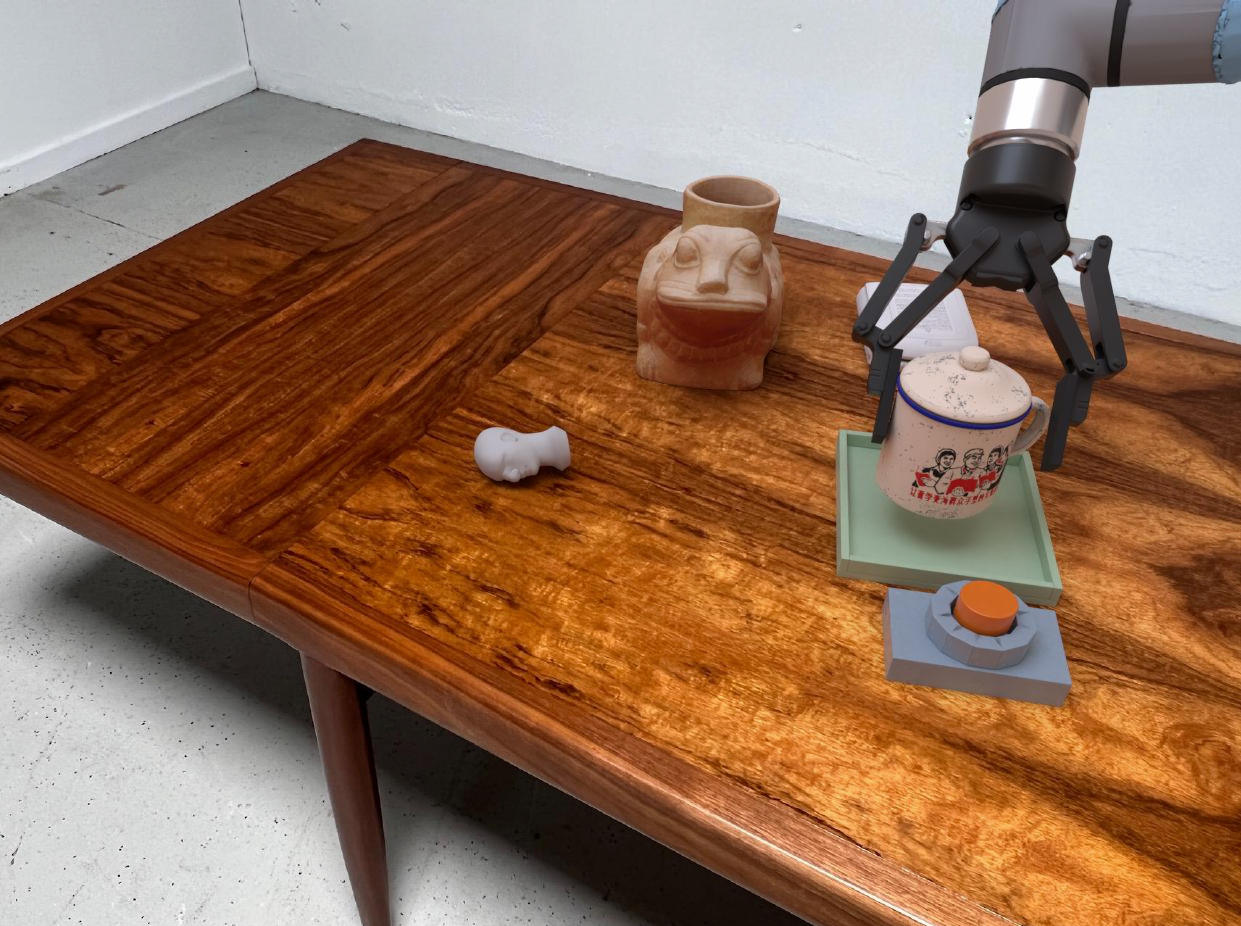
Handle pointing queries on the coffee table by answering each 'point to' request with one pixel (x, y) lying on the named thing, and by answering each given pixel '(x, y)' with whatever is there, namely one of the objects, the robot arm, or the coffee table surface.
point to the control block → (973, 649)
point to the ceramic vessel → (713, 289)
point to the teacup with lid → (955, 432)
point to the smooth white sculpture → (520, 452)
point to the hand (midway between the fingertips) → (962, 454)
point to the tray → (942, 532)
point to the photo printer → (925, 322)
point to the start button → (986, 608)
